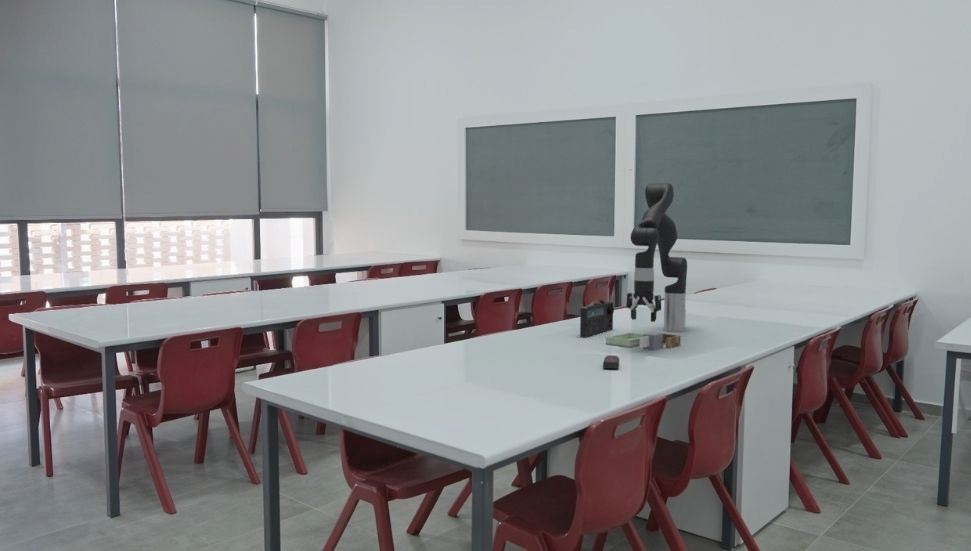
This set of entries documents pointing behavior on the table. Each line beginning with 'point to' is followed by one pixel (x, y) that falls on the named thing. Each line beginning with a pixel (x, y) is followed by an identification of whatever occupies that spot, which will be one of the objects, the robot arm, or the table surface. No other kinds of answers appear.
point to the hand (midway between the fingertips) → (643, 320)
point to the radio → (596, 318)
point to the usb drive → (611, 362)
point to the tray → (624, 340)
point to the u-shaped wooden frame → (671, 340)
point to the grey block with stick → (651, 341)
